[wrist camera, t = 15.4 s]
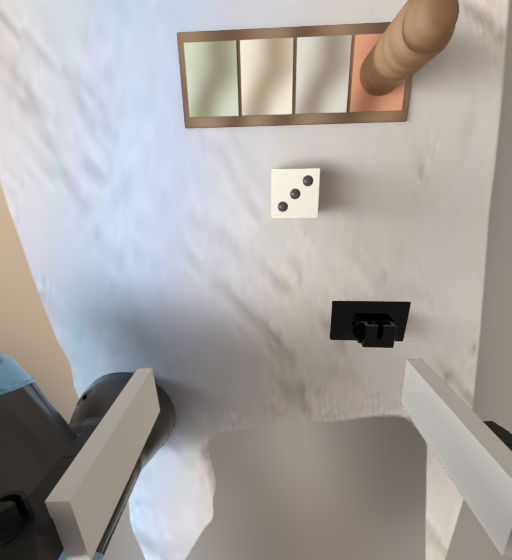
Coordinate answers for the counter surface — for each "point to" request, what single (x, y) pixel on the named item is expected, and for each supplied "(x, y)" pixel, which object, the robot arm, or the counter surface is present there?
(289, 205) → the die
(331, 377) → the counter surface
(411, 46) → the wooden domed cylinder
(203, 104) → the game board
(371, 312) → the black piece
